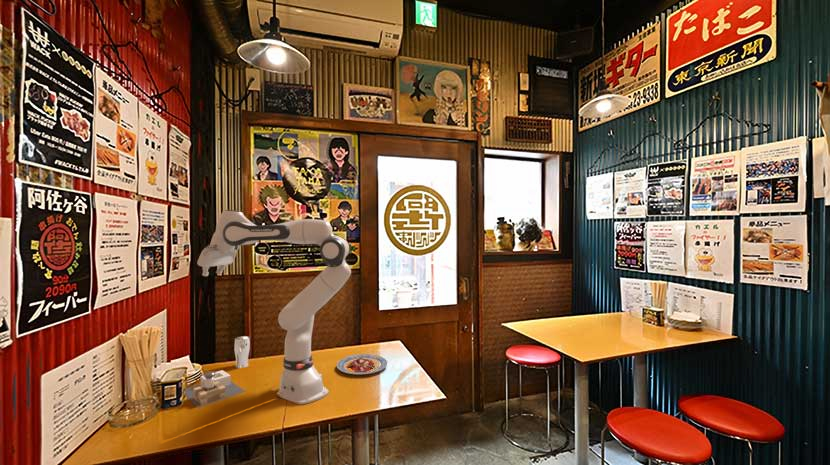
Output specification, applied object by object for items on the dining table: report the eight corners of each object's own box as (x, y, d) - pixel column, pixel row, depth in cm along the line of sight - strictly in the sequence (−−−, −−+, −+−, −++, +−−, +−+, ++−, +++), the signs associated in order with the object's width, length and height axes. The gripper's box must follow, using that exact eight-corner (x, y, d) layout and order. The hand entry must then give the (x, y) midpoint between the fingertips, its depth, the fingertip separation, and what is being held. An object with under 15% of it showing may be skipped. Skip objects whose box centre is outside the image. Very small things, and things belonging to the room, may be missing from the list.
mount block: (225, 397, 139) (225, 387, 139) (201, 405, 132) (201, 395, 132) (217, 390, 145) (217, 380, 145) (193, 397, 138) (193, 388, 138)
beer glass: (243, 370, 167) (243, 340, 167) (231, 369, 169) (231, 339, 169) (252, 365, 174) (252, 336, 174) (240, 364, 175) (241, 335, 175)
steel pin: (216, 397, 139) (217, 372, 139) (205, 400, 135) (206, 376, 135) (213, 394, 141) (213, 370, 141) (202, 397, 138) (202, 373, 138)
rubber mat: (245, 393, 144) (245, 391, 144) (197, 410, 130) (197, 407, 130) (224, 378, 158) (224, 376, 158) (179, 392, 144) (179, 390, 144)
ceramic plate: (325, 369, 171) (325, 363, 171) (361, 354, 192) (361, 349, 192) (363, 383, 156) (363, 376, 156) (397, 365, 177) (397, 359, 177)
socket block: (230, 384, 150) (230, 375, 150) (208, 391, 143) (208, 382, 143) (222, 378, 156) (222, 370, 156) (200, 385, 149) (200, 376, 149)
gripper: (213, 247, 137) (202, 279, 137) (241, 246, 158) (232, 274, 158) (199, 242, 138) (188, 274, 137) (229, 242, 158) (219, 270, 158)
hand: (211, 274), depth 148 cm, fingers open, 8 cm apart
